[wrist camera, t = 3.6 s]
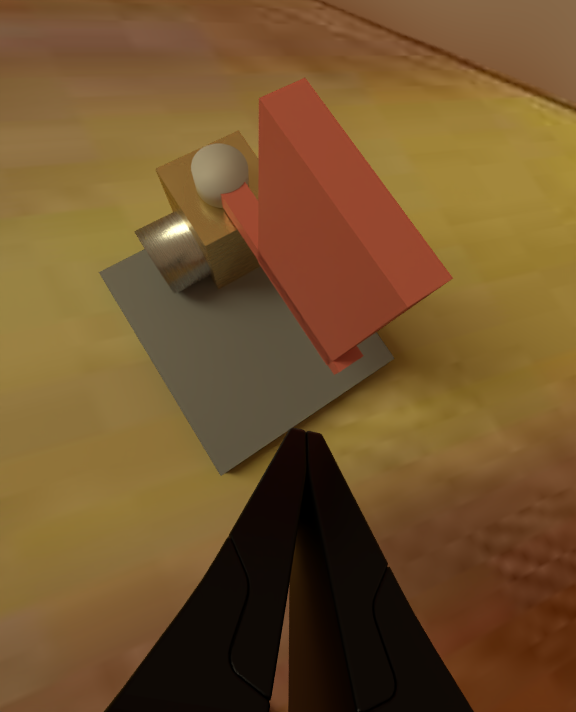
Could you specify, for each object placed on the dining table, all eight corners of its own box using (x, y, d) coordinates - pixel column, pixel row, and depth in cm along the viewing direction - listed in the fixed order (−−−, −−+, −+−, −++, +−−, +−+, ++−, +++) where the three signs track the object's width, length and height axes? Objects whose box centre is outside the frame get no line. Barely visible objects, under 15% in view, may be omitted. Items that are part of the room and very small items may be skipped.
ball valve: (311, 238, 20) (328, 181, 15) (184, 309, 19) (157, 270, 14) (273, 183, 21) (278, 111, 16) (146, 248, 19) (107, 190, 14)
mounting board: (387, 361, 20) (394, 358, 19) (222, 472, 18) (220, 475, 17) (272, 194, 22) (273, 183, 21) (106, 279, 20) (98, 272, 19)
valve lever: (185, 176, 15) (115, -63, 7) (231, 155, 15) (207, -92, 8) (321, 383, 14) (398, 344, 6) (366, 353, 14) (489, 283, 7)
